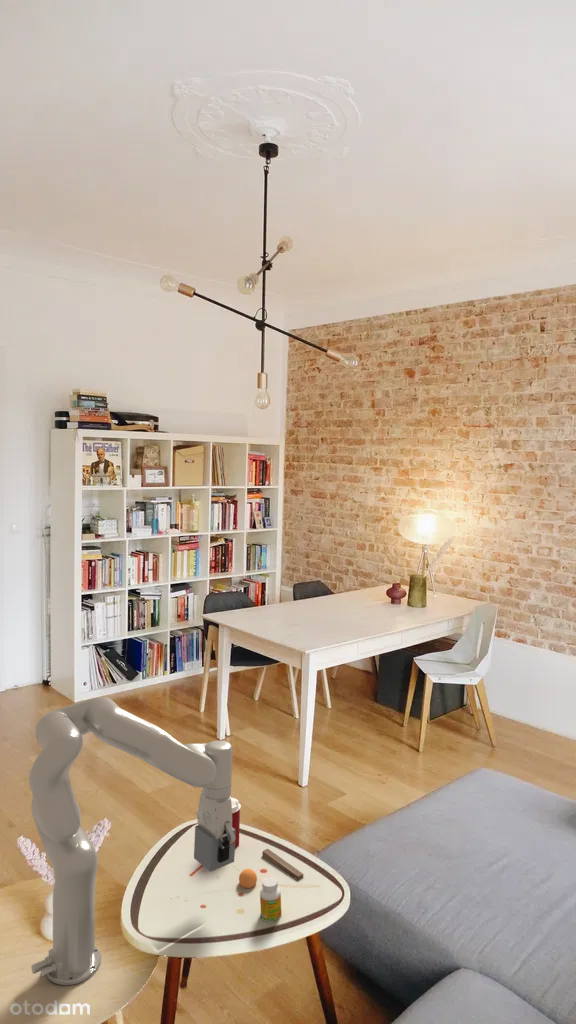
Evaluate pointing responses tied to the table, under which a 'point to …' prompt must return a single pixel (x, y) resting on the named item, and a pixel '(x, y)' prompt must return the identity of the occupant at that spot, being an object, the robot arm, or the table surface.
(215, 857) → the grey matte cube
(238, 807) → the paper cup
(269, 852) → the long brown rectangular bar
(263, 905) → the supplement bottle
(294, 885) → the table surface
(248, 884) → the ball
